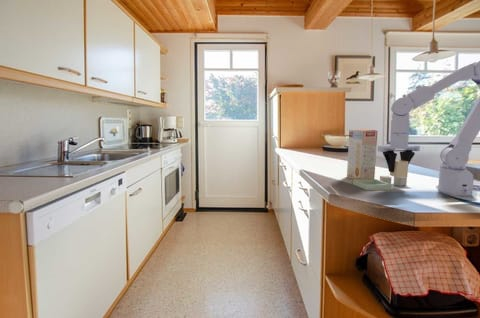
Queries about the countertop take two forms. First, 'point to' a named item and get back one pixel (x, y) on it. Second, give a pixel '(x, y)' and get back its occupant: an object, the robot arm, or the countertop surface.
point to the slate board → (399, 187)
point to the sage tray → (364, 182)
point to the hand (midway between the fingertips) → (397, 171)
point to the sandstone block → (400, 169)
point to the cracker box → (361, 154)
